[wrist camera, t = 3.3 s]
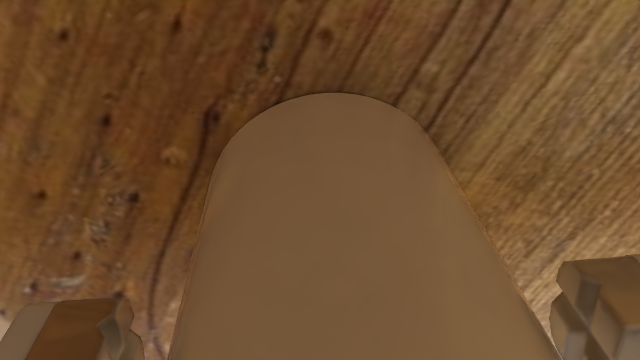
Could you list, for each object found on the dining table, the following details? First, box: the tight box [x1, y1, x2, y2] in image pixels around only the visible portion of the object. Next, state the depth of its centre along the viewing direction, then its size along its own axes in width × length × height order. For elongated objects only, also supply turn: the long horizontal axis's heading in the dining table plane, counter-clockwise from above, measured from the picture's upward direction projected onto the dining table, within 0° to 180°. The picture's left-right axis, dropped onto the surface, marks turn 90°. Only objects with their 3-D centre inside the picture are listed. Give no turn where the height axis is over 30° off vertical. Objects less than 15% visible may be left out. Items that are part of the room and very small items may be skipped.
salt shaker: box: [167, 93, 562, 360], centre depth 8 cm, size 5×5×8 cm
